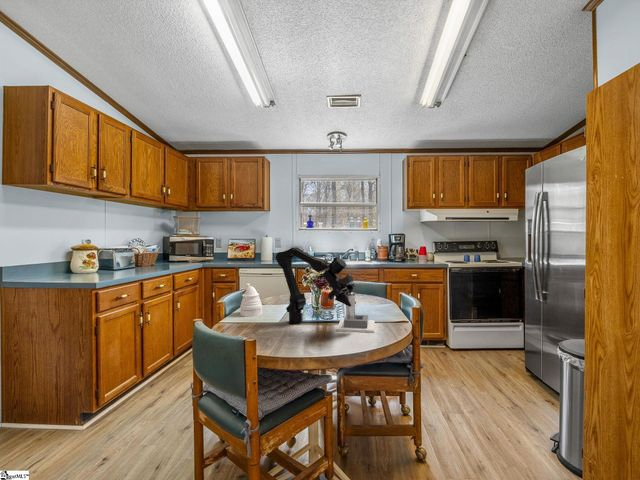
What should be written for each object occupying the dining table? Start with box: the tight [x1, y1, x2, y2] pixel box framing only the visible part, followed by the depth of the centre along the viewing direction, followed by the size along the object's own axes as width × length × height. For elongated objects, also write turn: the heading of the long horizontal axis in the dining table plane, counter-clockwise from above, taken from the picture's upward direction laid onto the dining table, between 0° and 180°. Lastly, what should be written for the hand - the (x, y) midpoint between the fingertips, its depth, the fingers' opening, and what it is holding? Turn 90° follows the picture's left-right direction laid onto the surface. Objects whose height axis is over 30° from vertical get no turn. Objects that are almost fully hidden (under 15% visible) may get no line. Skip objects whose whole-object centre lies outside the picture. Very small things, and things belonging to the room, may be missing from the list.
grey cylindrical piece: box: [345, 291, 356, 320], centre depth 156 cm, size 4×4×12 cm
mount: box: [336, 314, 376, 333], centre depth 166 cm, size 18×18×4 cm
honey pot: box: [239, 283, 263, 318], centre depth 195 cm, size 13×13×18 cm
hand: (352, 305), depth 155 cm, fingers closed on grey cylindrical piece, 4 cm apart
